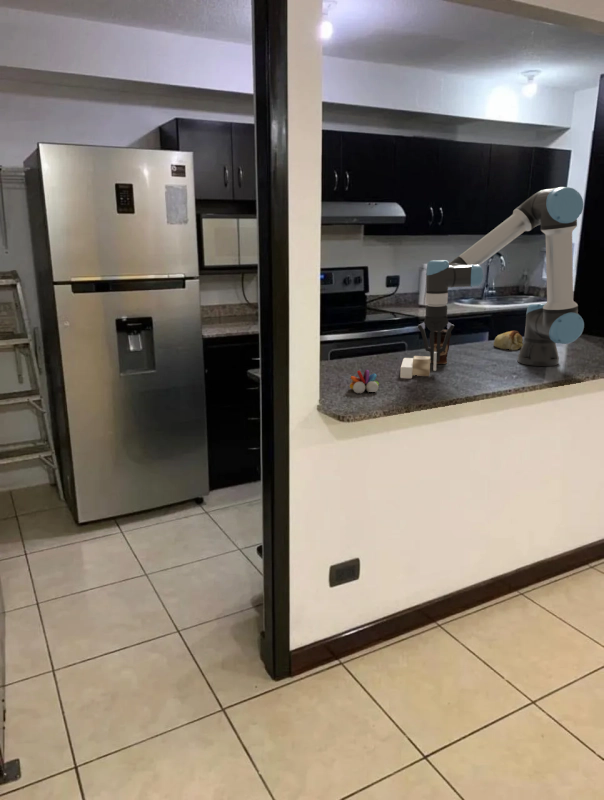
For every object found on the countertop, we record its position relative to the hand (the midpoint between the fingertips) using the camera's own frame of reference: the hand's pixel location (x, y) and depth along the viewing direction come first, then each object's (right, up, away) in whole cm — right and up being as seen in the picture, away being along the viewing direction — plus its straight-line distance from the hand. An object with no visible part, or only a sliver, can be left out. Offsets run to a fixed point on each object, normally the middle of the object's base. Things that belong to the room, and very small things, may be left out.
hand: (434, 369), depth 216 cm
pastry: (+43, +12, +48) cm, 66 cm away
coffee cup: (+6, +4, +19) cm, 20 cm away
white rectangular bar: (-9, -1, +3) cm, 10 cm away
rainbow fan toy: (-28, -8, -20) cm, 36 cm away
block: (-5, -1, +2) cm, 5 cm away
